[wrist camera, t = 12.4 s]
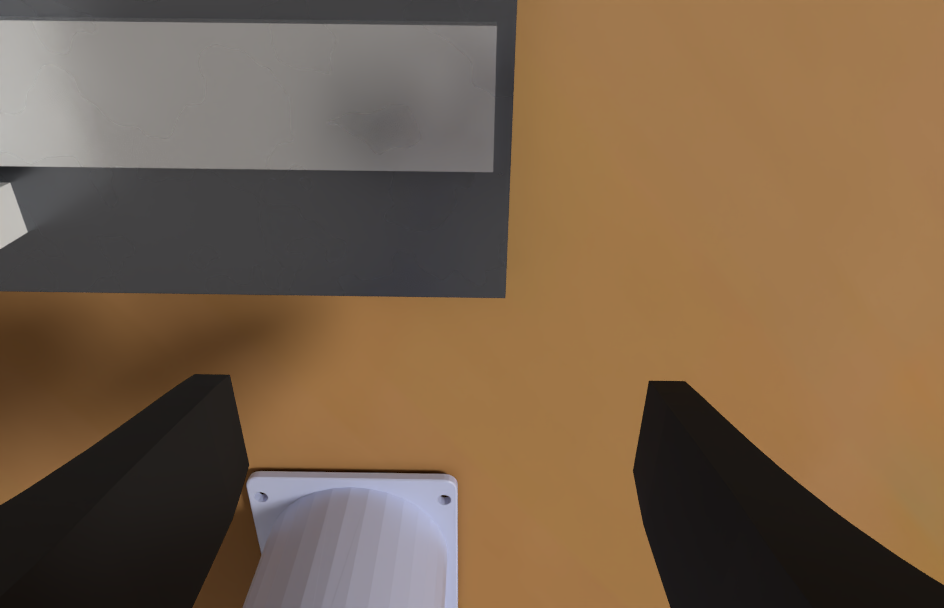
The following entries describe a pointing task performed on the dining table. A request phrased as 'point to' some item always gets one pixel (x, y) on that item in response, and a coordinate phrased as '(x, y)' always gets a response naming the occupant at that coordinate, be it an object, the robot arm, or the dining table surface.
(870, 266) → the dining table surface
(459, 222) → the rail backplate
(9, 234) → the block
